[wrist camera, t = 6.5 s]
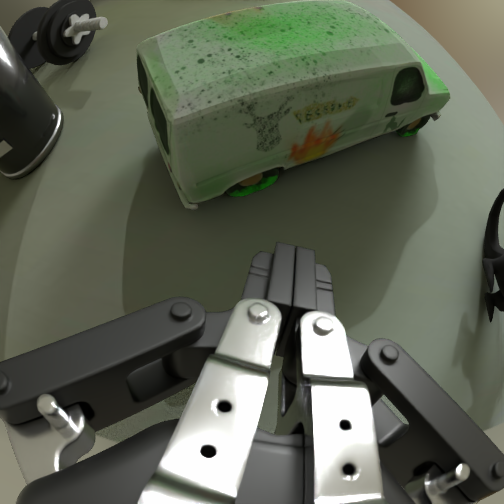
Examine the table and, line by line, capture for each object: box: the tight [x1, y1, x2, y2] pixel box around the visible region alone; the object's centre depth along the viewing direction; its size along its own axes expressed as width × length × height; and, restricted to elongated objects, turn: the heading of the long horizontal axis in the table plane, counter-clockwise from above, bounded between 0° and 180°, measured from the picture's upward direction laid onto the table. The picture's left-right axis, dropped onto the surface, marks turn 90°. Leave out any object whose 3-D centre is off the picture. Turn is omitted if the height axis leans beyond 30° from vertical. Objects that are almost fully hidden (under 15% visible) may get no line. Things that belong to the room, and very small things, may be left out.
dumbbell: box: [8, 0, 108, 69], centre depth 22 cm, size 22×10×10 cm, turn 70°
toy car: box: [137, 0, 450, 210], centre depth 18 cm, size 11×25×10 cm, turn 116°
